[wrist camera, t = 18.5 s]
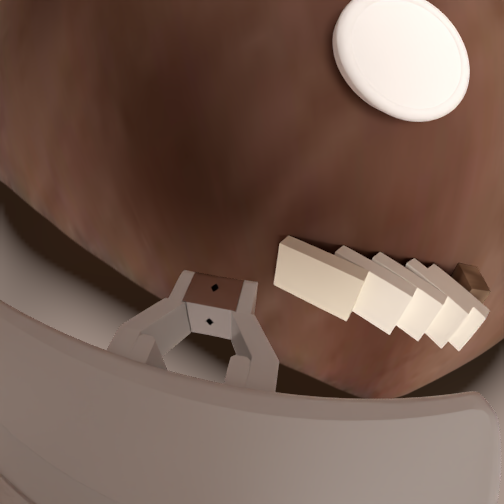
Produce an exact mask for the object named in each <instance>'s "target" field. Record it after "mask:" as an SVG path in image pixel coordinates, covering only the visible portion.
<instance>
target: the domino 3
mask: <svg viewBox="0 0 504 504" xmlns="http://www.w3.org/2000/svg"><path fill="white" fill-rule="evenodd" d="M371 261H373V262H375V263H377V264H378V265H380V266H382V267H384V268H385V269H387V270H389V271H391V272H392V273H394V274H396V275H397V276H399V277H401V278H403V279H404V280H406V281H408V282H409V283H411V284H413V285H414V286H416V287H417V289H416V291H415V293H414V295H413V297H412V299H411V301H410V302H409V304H408V306H407V308H406V309H405V311H404V313H403V314H402V316H401V318H400V319H399V321H398V322H397V324H396V325H397V326H398V327H399V328H401V329H402V330H403V331H405V332H406V333H407V334H409V335H410V336H411V337H413V338H414V339H416V340H417V341H419V339H420V338H421V337H422V335H423V334H424V333H425V331H426V330H427V329H428V327H429V326H430V324H431V323H432V321H433V320H434V319H435V317H436V316H437V314H438V313H439V311H440V310H441V308H442V307H443V305H444V303H445V301H446V299H447V297H448V296H447V295H445V294H444V293H442V292H441V291H440V290H438V289H437V288H435V287H434V286H432V285H431V284H429V283H428V282H426V281H425V280H423V279H422V278H420V277H419V276H417V275H416V274H414V273H413V272H411V271H410V270H408V269H407V268H405V267H404V266H402V265H400V264H399V263H397V262H396V261H394V260H393V259H391V258H389V257H388V256H386V255H385V254H383V253H381V252H379V253H378V254H377V255H375V256H374V257H373V258H372V260H371Z"/></svg>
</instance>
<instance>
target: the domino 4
mask: <svg viewBox="0 0 504 504" xmlns="http://www.w3.org/2000/svg"><path fill="white" fill-rule="evenodd" d="M405 268H407V269H408V270H410V271H411V272H413V273H414V274H416V275H417V276H419V277H420V278H422V279H423V280H425V281H426V282H428V283H429V284H431V285H432V286H434V287H435V288H437V289H438V290H440V291H441V292H442V293H444V294H445V295H447V296H448V297H447V299H446V301H445V303H444V305H443V307H442V308H441V310H440V311H439V313H438V314H437V316H436V317H435V319H434V320H433V321H432V323H431V324H430V326H429V327H428V329H427V330H426V331H425V333H426V334H427V335H428V336H429V337H430V338H431V339H432V340H433V341H434V342H435V343H436V344H437V345H438V346H439V347H440V348H441V349H442V348H443V346H444V345H445V344H446V343H447V342H448V340H449V339H450V338H451V337H452V335H453V334H454V333H455V332H456V330H457V329H458V328H459V326H460V325H461V324H462V322H463V321H464V320H465V318H466V317H467V316H468V314H469V313H470V311H471V310H472V308H473V306H472V305H471V304H470V303H469V302H468V301H467V300H465V299H464V298H463V297H462V296H461V295H460V294H459V293H457V292H456V291H455V290H454V289H453V288H451V287H450V286H449V285H448V284H447V283H445V282H444V281H443V280H442V279H440V278H439V277H438V276H437V275H436V274H434V273H433V272H432V271H430V270H429V269H428V268H427V267H425V266H424V265H423V264H422V263H420V262H419V261H418V260H416V259H415V258H414V259H412V260H410V261H409V262H407V264H406V266H405Z"/></svg>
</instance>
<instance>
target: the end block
mask: <svg viewBox="0 0 504 504" xmlns="http://www.w3.org/2000/svg"><path fill="white" fill-rule="evenodd" d="M451 277H452V278H453V279H454V280H455V281H456V282H458V283H459V284H460V285H461V286H462V287H464V288H465V289H466V290H467V291H468V292H470V293H471V294H472V295H473V296H474V297H475V298H476V299H478V300H479V301H480V302H481V303H482V304H483V302H484V301H485V299H486V298H487V296H488V295H489V293H490V290H489V288H488V286H487V284H486V282H485V280H484V279H483V277H482V275H481V273H480V271H479V270H478V268H477V267H475V266H470V265H466V264H461V263H458V265H457V267H456V269H455V270H454V272H453V274H452V276H451Z"/></svg>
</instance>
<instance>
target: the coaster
mask: <svg viewBox="0 0 504 504" xmlns="http://www.w3.org/2000/svg"><path fill="white" fill-rule="evenodd" d="M332 42H333V52H334V57H335V61H336V64H337V66H338V69H339V71H340V73H341V75H342V76H343V78H344V79H345V81H346V82H347V84H348V85H349V86H350V88H351V89H352V90H353V91H354V92H355V93H356V94H357V95H358V96H359V97H360V98H361V99H363V100H364V101H365V102H366V103H368V104H369V105H371V106H372V107H374V108H376V109H378V110H380V111H382V112H384V113H386V114H388V115H390V116H393V117H395V118H398V119H402V120H406V121H412V122H424V121H431V120H435V119H438V118H440V117H443V116H445V115H446V114H448V113H450V112H451V111H452V110H453V109H455V108H456V107H457V105H458V104H459V103H460V102H461V100H462V99H463V97H464V95H465V93H466V90H467V87H468V83H469V76H470V68H469V59H468V55H467V51H466V48H465V46H464V43H463V41H462V39H461V37H460V35H459V33H458V32H457V30H456V29H455V27H454V26H453V24H452V23H451V22H450V21H449V19H448V18H447V17H446V16H445V15H444V14H443V13H442V12H441V11H440V10H438V9H437V8H436V7H435V6H433V5H432V4H431V3H429V2H427V1H426V0H352V1H351V2H350V3H349V4H348V5H347V6H346V7H345V8H344V10H343V11H342V12H341V15H340V17H339V19H338V21H337V23H336V25H335V28H334V32H333V39H332Z"/></svg>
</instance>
